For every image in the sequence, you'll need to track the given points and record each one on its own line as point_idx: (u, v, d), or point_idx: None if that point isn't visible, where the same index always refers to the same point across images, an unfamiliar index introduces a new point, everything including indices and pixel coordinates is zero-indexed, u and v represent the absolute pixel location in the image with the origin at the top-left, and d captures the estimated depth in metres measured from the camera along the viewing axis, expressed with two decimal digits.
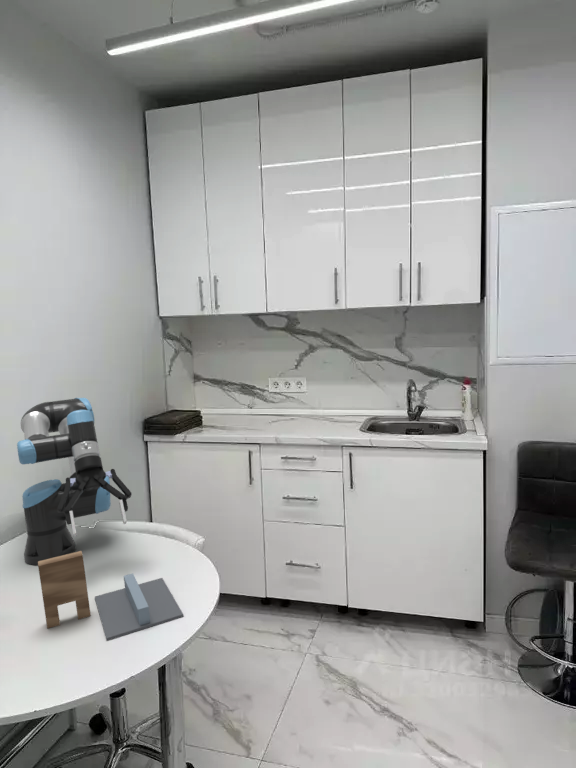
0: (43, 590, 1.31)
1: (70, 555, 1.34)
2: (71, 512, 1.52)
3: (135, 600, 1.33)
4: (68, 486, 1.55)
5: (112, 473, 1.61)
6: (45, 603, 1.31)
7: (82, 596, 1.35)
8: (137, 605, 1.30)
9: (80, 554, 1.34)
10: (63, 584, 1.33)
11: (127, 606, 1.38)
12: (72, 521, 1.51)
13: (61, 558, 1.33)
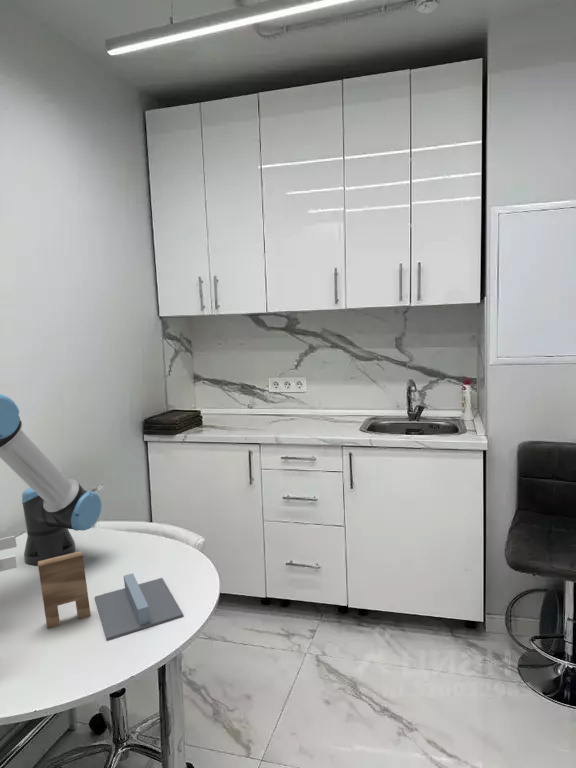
0: (43, 590, 1.31)
1: (70, 555, 1.34)
2: None
3: (135, 600, 1.33)
4: None
5: None
6: (45, 603, 1.31)
7: (82, 596, 1.35)
8: (137, 605, 1.30)
9: (80, 554, 1.34)
10: (63, 584, 1.33)
11: (127, 606, 1.38)
12: None
13: (61, 558, 1.33)
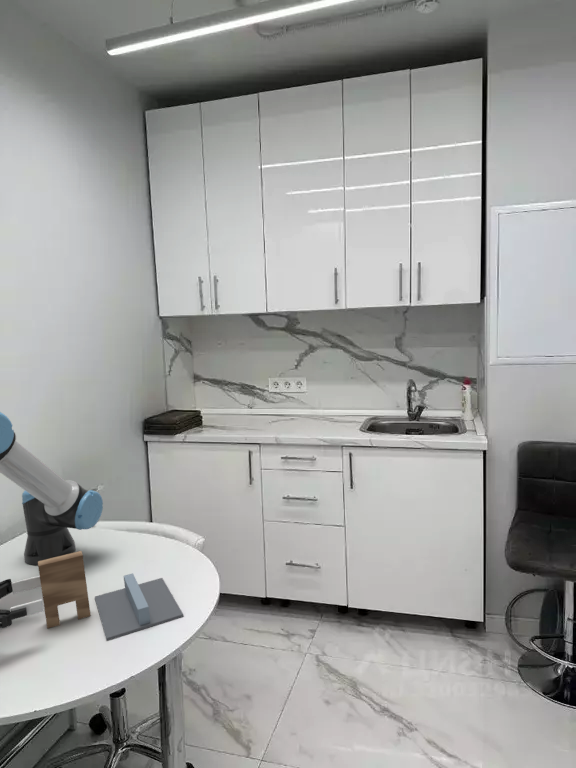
0: (43, 590, 1.31)
1: (70, 555, 1.34)
2: None
3: (135, 600, 1.33)
4: None
5: None
6: (45, 603, 1.31)
7: (82, 596, 1.35)
8: (137, 605, 1.30)
9: (80, 554, 1.34)
10: (63, 584, 1.33)
11: (127, 606, 1.38)
12: None
13: (61, 558, 1.33)
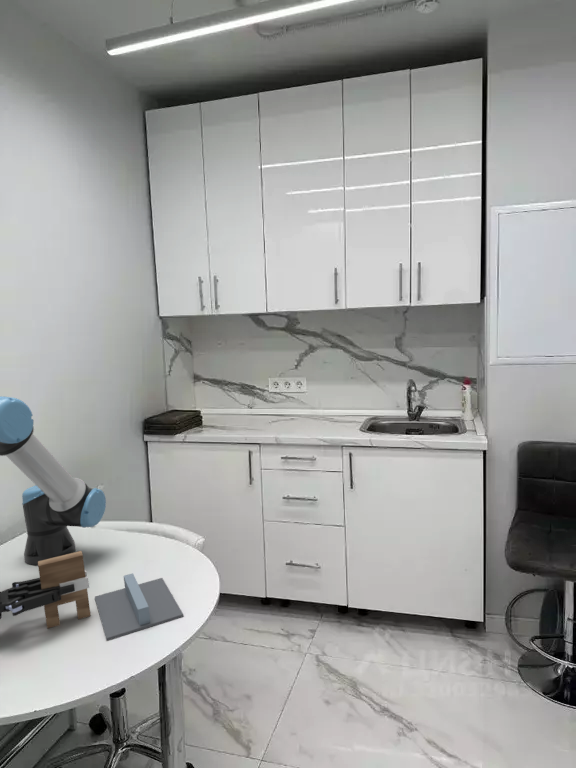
0: None
1: (70, 555, 1.34)
2: None
3: (135, 600, 1.33)
4: None
5: None
6: None
7: (82, 596, 1.35)
8: (137, 605, 1.30)
9: (80, 554, 1.34)
10: None
11: (127, 606, 1.38)
12: None
13: (61, 558, 1.33)
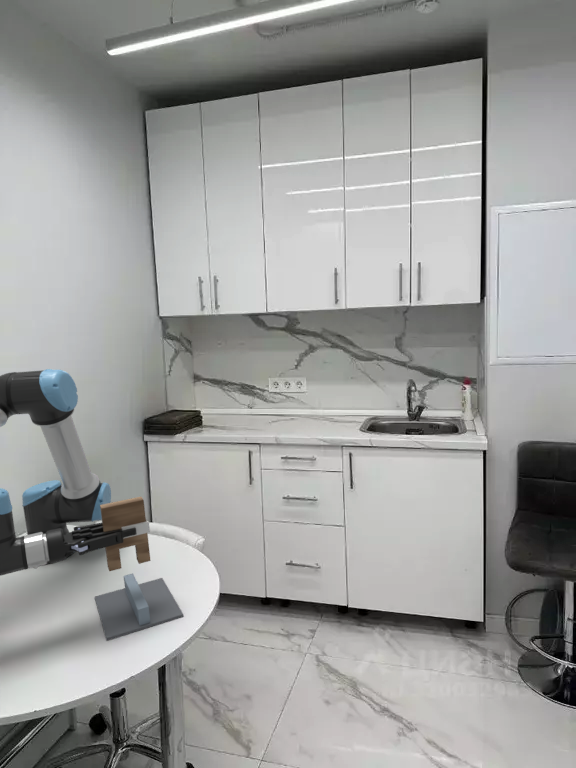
0: None
1: (131, 500, 1.36)
2: None
3: (135, 600, 1.33)
4: None
5: None
6: None
7: (143, 541, 1.36)
8: (137, 605, 1.30)
9: (141, 499, 1.36)
10: None
11: (127, 606, 1.38)
12: None
13: (122, 502, 1.34)
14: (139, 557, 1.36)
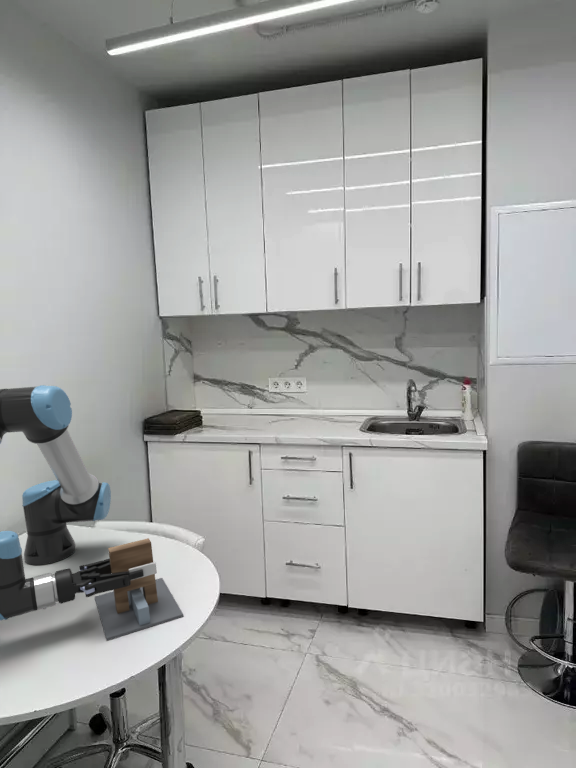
0: None
1: (139, 542, 1.38)
2: None
3: (135, 600, 1.33)
4: None
5: None
6: (116, 589, 1.34)
7: (150, 582, 1.38)
8: (137, 605, 1.30)
9: (149, 541, 1.38)
10: None
11: None
12: None
13: (130, 545, 1.36)
14: (147, 598, 1.38)
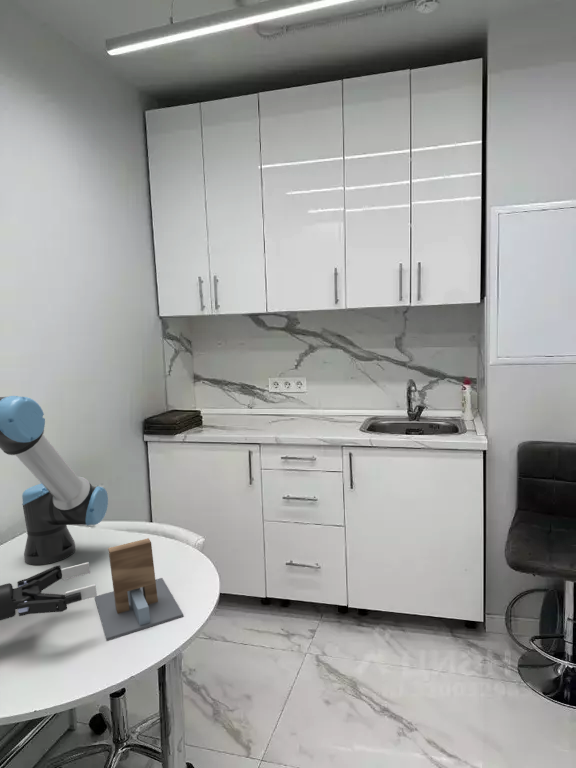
0: (114, 576, 1.34)
1: (139, 542, 1.38)
2: None
3: (135, 600, 1.33)
4: None
5: None
6: (116, 589, 1.34)
7: (150, 582, 1.38)
8: (137, 605, 1.30)
9: (148, 541, 1.38)
10: (133, 570, 1.36)
11: None
12: None
13: (130, 545, 1.36)
14: (147, 598, 1.38)
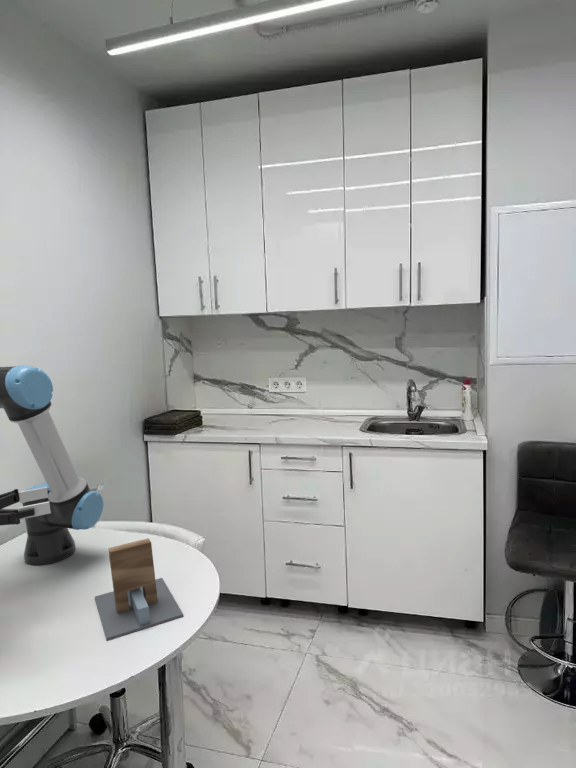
0: (114, 576, 1.34)
1: (139, 542, 1.38)
2: None
3: (135, 600, 1.33)
4: None
5: None
6: (116, 589, 1.34)
7: (150, 582, 1.38)
8: (137, 605, 1.30)
9: (148, 541, 1.38)
10: (133, 570, 1.36)
11: None
12: None
13: (130, 545, 1.36)
14: (147, 598, 1.38)
